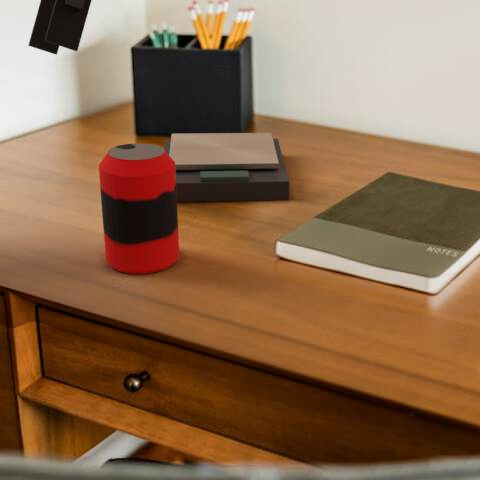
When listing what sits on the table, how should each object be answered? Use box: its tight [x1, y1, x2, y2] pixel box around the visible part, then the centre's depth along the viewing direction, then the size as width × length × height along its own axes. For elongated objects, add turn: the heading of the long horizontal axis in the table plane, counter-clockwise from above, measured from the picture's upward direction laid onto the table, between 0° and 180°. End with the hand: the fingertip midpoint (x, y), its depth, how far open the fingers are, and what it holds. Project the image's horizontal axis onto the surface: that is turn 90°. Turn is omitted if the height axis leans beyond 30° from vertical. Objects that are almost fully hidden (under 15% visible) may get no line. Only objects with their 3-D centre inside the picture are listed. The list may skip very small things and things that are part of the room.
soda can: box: [98, 142, 180, 275], centre depth 93 cm, size 8×8×12 cm
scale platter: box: [169, 132, 279, 170], centre depth 121 cm, size 14×14×1 cm
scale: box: [163, 138, 290, 203], centre depth 121 cm, size 16×19×3 cm
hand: (50, 48), depth 83 cm, fingers open, 13 cm apart
